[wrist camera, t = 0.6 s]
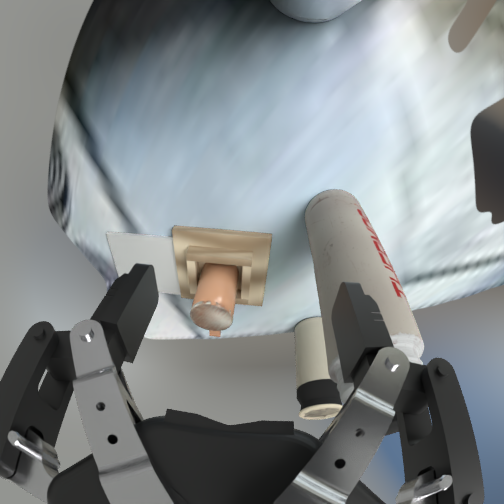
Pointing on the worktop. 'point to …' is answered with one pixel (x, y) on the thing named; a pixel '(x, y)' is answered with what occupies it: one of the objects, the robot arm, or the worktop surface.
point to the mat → (146, 257)
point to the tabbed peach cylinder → (215, 297)
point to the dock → (222, 259)
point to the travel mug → (314, 373)
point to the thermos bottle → (356, 277)
